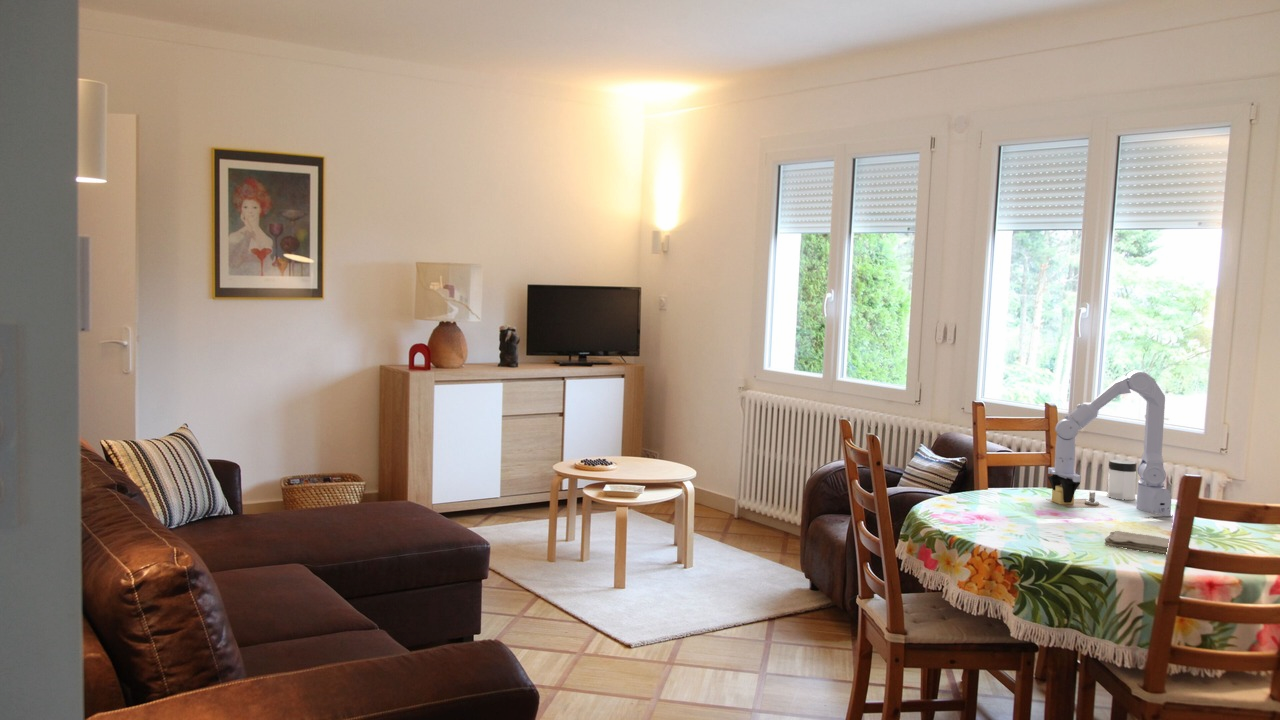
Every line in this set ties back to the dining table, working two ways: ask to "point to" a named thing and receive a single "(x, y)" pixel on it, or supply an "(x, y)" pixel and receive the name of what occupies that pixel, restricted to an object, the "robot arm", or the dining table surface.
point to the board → (1079, 504)
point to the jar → (1122, 479)
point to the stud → (1092, 500)
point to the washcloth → (1138, 542)
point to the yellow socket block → (1059, 495)
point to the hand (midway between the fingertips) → (1062, 500)
